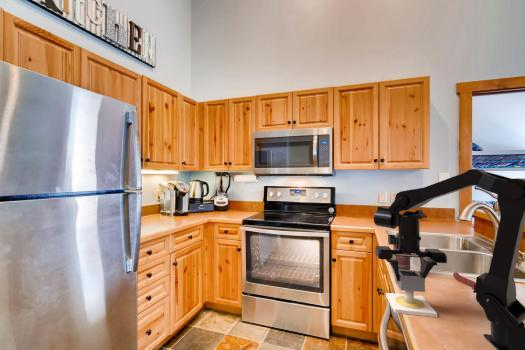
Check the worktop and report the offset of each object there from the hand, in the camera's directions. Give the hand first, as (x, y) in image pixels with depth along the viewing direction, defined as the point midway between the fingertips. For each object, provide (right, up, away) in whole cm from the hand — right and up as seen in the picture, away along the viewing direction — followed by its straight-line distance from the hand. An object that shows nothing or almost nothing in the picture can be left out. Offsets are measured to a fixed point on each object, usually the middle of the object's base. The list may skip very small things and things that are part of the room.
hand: (409, 281), depth 79 cm
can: (+12, -8, +27) cm, 31 cm away
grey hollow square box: (0, -2, 0) cm, 2 cm away
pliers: (+32, -8, +14) cm, 36 cm away
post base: (0, -7, 0) cm, 7 cm away
